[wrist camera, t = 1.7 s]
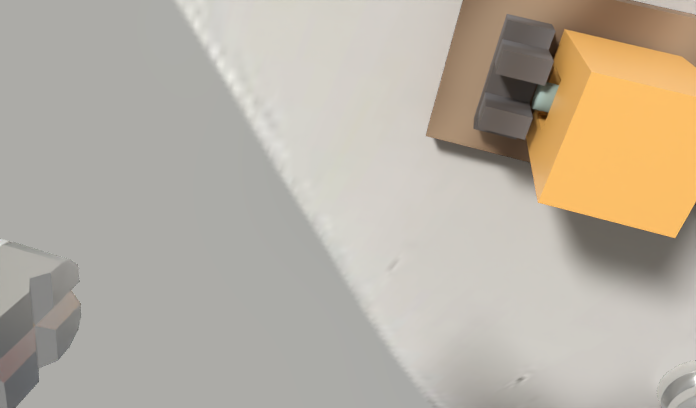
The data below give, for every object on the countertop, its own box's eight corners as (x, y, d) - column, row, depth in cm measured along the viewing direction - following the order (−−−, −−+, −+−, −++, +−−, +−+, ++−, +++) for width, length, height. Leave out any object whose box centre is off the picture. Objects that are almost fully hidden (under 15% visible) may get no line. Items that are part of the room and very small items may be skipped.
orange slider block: (682, 56, 24) (748, 109, 18) (631, 161, 27) (675, 238, 21) (564, 29, 25) (591, 72, 19) (525, 134, 27) (537, 202, 21)
